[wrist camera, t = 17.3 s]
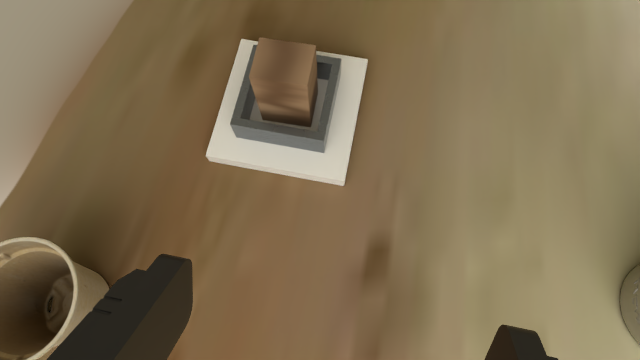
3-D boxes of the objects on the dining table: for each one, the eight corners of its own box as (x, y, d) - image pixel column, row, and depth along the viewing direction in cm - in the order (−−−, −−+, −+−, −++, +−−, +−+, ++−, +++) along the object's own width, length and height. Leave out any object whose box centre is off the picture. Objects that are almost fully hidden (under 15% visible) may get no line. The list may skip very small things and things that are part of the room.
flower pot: (143, 329, 38) (92, 332, 30) (41, 379, 37) (-41, 396, 29) (112, 237, 41) (58, 216, 33) (17, 280, 40) (-64, 270, 31)
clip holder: (366, 67, 46) (370, 41, 42) (343, 185, 42) (345, 170, 38) (244, 47, 47) (235, 20, 43) (209, 161, 43) (196, 143, 39)
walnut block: (317, 93, 44) (316, 45, 36) (310, 127, 43) (307, 85, 35) (271, 85, 44) (259, 37, 37) (262, 119, 43) (248, 76, 35)
